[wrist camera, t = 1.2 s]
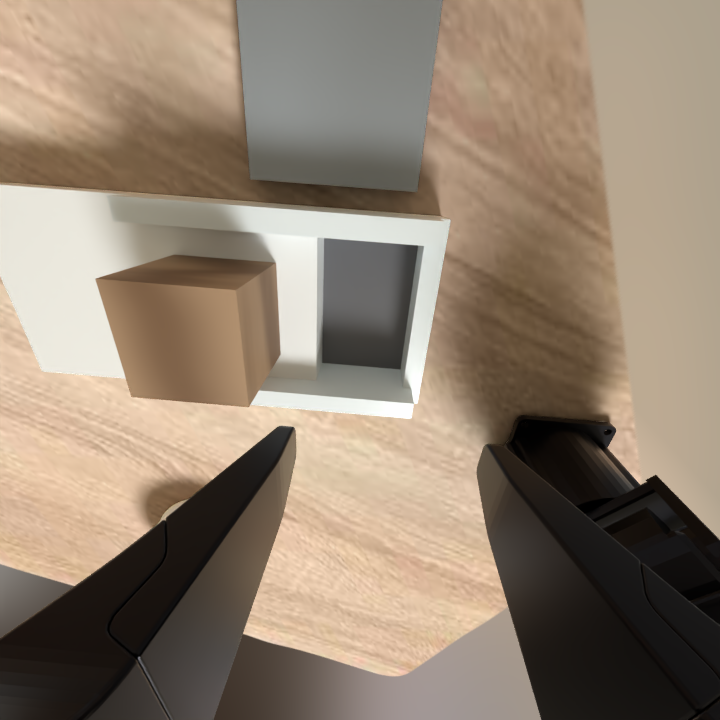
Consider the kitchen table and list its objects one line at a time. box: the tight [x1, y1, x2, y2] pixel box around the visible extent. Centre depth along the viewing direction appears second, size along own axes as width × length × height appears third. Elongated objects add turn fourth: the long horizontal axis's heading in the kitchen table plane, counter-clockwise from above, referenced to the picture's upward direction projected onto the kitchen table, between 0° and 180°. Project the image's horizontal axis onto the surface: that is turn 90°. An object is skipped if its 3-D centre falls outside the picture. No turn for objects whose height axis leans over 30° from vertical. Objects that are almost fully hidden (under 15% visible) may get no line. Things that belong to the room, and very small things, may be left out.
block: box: [95, 255, 281, 407], centre depth 15 cm, size 5×5×5 cm
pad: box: [236, 0, 443, 192], centre depth 14 cm, size 8×8×1 cm
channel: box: [0, 183, 451, 419], centre depth 17 cm, size 22×10×4 cm, turn 86°
